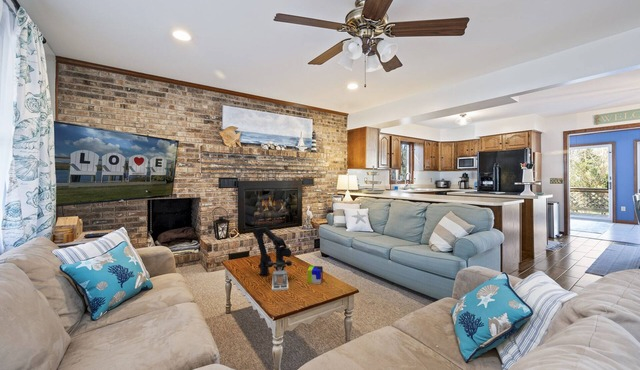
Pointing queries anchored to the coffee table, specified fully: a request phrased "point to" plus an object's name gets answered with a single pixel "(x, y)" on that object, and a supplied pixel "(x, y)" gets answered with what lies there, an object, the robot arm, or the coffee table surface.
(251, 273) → the coffee table surface
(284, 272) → the tunnel
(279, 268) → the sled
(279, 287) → the board
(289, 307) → the coffee table surface
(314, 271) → the puzzle toy
